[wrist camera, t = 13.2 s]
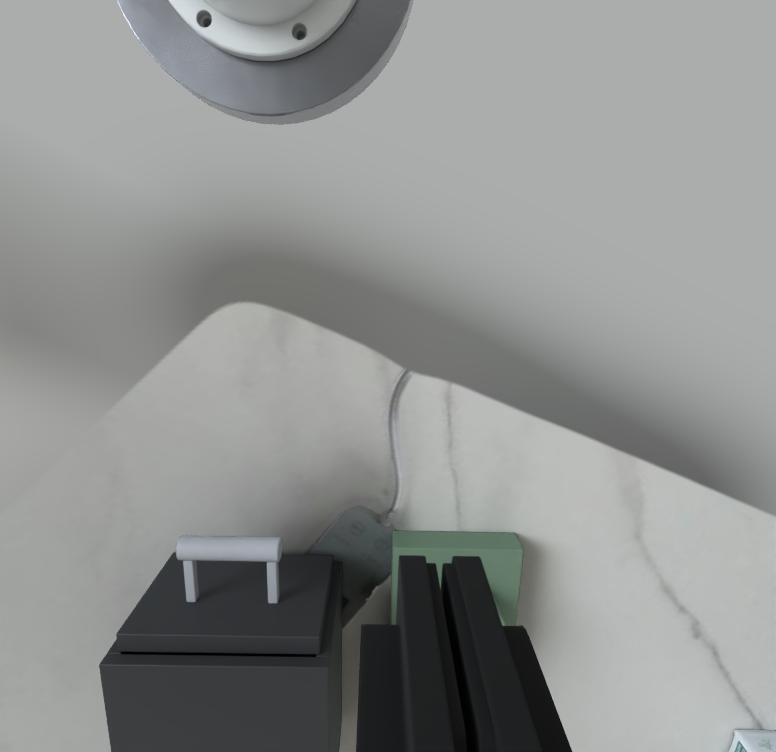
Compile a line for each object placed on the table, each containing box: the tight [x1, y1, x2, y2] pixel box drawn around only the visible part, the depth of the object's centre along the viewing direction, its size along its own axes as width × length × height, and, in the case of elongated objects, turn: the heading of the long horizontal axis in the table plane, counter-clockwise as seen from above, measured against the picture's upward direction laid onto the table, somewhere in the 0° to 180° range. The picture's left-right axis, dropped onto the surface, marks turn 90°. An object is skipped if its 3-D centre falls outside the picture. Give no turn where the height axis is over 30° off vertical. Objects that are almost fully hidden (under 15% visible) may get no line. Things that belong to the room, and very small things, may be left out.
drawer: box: [116, 536, 333, 657], centre depth 33 cm, size 18×11×8 cm, turn 178°
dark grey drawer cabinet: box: [99, 562, 343, 752], centre depth 34 cm, size 15×13×10 cm
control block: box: [390, 531, 524, 626], centre depth 35 cm, size 11×9×4 cm
